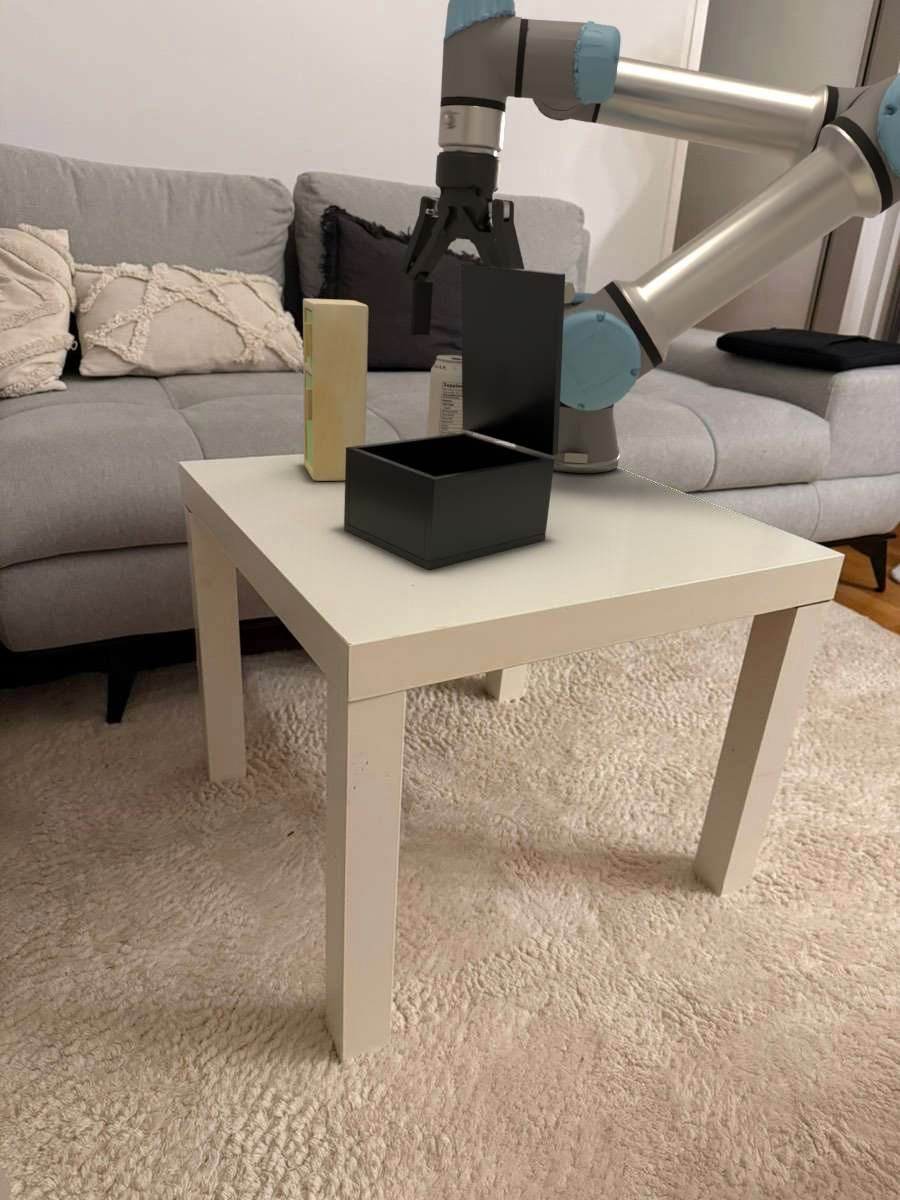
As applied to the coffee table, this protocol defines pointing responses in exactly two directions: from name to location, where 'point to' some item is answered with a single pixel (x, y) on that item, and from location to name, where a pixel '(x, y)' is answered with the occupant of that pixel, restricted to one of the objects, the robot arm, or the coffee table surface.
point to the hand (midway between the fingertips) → (455, 342)
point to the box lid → (513, 353)
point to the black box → (446, 497)
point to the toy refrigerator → (333, 383)
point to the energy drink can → (446, 397)
